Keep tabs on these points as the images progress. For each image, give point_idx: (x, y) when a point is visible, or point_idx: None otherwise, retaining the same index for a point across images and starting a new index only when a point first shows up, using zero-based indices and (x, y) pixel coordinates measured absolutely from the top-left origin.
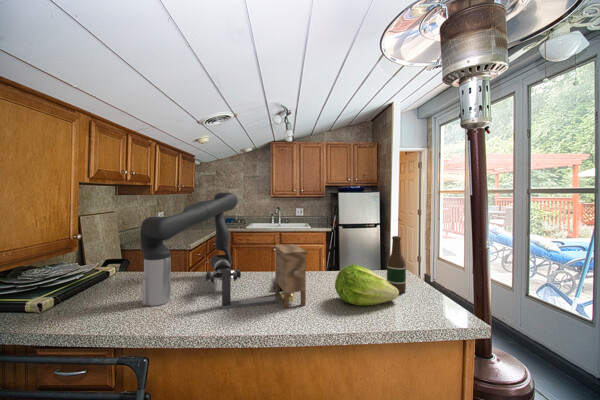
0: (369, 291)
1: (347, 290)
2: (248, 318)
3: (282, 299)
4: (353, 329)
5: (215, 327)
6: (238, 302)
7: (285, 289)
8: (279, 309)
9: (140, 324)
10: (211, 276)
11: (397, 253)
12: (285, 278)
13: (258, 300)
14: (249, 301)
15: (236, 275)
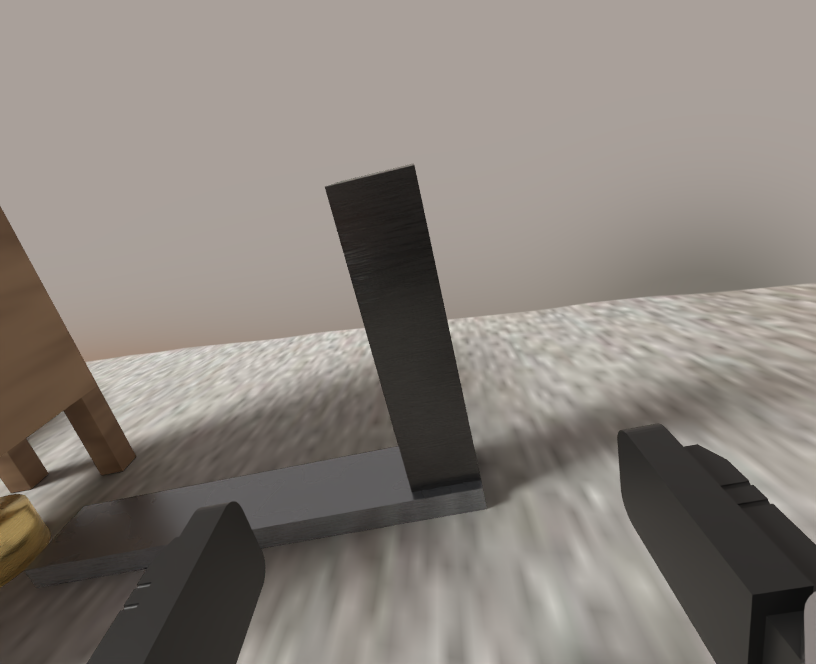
0: None
1: None
2: (346, 383)
3: (42, 531)
4: (118, 362)
5: (482, 336)
6: (348, 478)
7: (85, 367)
8: (171, 445)
9: None
10: (804, 572)
11: None
12: (51, 305)
13: (201, 502)
14: (267, 491)
15: (146, 588)
